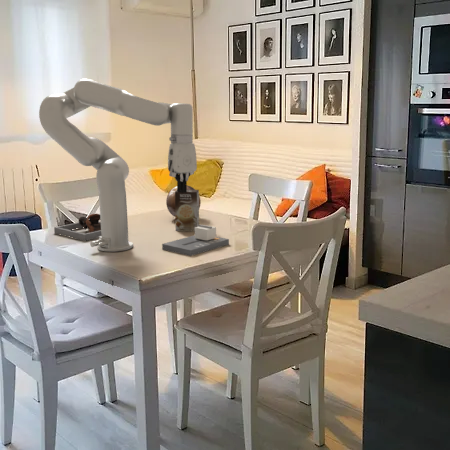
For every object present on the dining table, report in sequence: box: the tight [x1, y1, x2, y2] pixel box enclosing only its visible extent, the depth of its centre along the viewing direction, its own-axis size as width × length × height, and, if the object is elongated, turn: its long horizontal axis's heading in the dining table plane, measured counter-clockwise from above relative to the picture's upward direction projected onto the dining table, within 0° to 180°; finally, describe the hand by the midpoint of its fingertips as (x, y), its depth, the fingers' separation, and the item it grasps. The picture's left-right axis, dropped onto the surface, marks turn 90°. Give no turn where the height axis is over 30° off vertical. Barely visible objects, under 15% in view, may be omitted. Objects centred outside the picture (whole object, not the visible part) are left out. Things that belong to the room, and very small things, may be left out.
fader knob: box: [194, 224, 217, 240], centre depth 216 cm, size 5×6×5 cm
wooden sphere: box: [165, 184, 202, 217], centre depth 260 cm, size 15×15×15 cm
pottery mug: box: [78, 213, 101, 233], centre depth 239 cm, size 12×10×8 cm
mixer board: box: [161, 234, 230, 257], centre depth 213 cm, size 20×14×2 cm
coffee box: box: [174, 189, 200, 232], centre depth 239 cm, size 9×6×16 cm
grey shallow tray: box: [53, 221, 101, 242], centre depth 237 cm, size 18×20×2 cm
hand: (181, 192), depth 209 cm, fingers closed
